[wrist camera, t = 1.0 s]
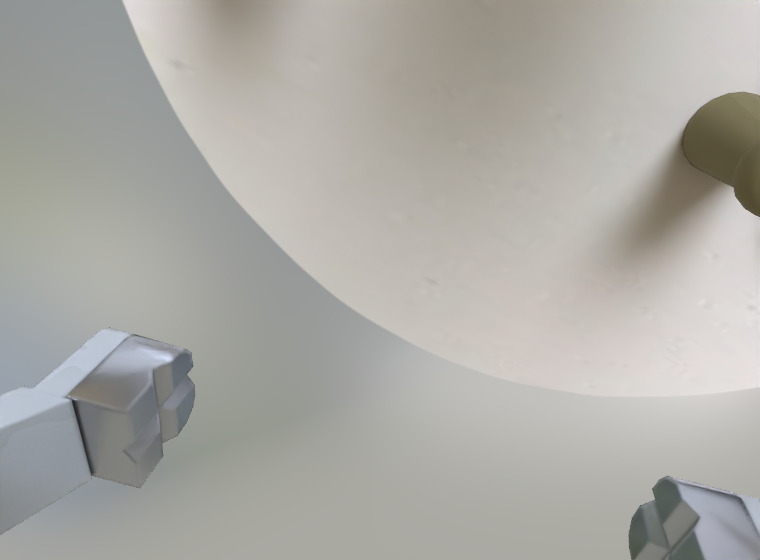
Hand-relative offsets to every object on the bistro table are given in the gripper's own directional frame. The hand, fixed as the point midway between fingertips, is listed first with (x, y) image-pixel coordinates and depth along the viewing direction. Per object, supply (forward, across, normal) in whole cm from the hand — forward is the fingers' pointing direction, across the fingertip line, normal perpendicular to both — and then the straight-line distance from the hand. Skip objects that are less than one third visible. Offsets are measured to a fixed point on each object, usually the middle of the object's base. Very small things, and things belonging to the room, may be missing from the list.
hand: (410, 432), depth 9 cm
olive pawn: (+36, -19, 0) cm, 41 cm away
